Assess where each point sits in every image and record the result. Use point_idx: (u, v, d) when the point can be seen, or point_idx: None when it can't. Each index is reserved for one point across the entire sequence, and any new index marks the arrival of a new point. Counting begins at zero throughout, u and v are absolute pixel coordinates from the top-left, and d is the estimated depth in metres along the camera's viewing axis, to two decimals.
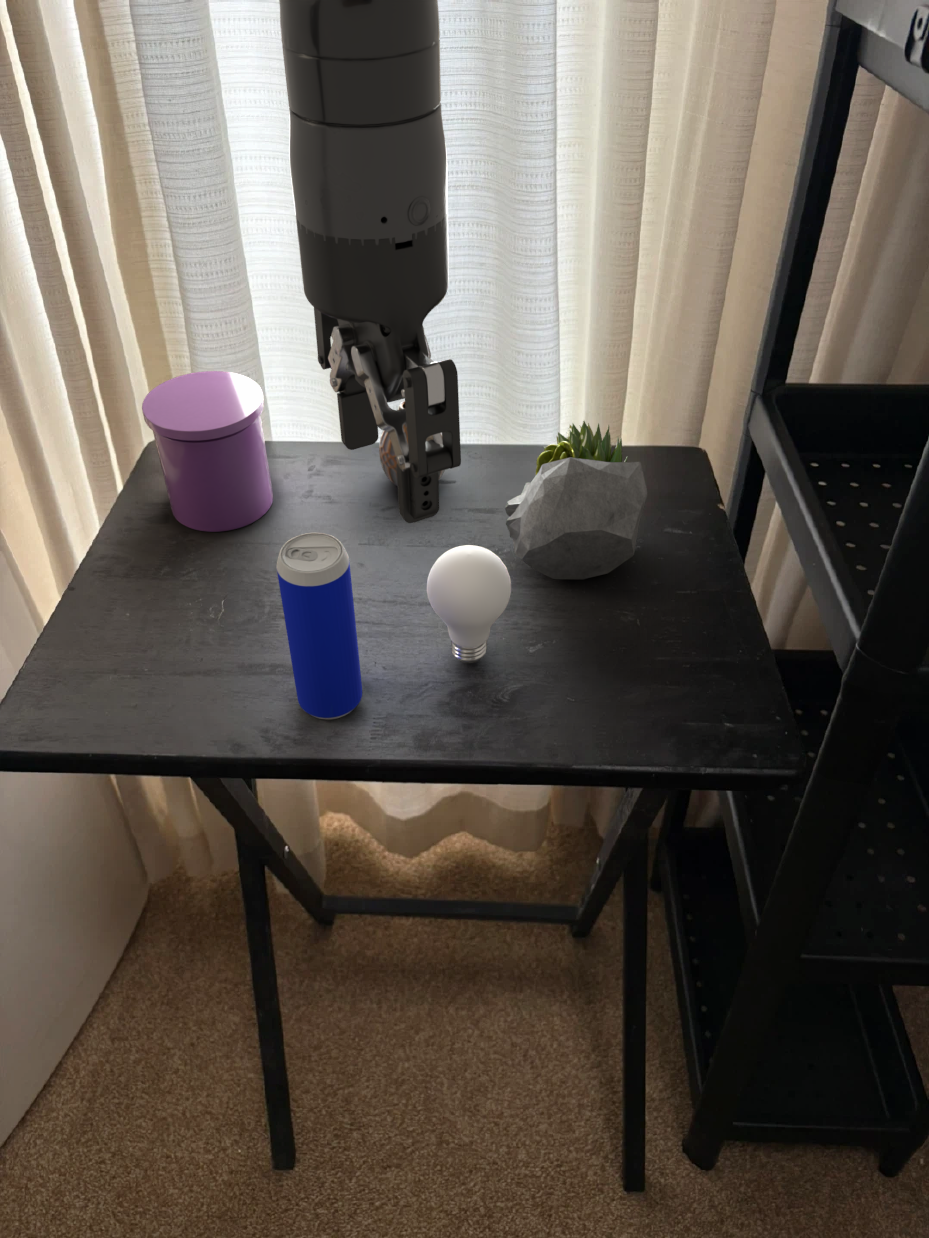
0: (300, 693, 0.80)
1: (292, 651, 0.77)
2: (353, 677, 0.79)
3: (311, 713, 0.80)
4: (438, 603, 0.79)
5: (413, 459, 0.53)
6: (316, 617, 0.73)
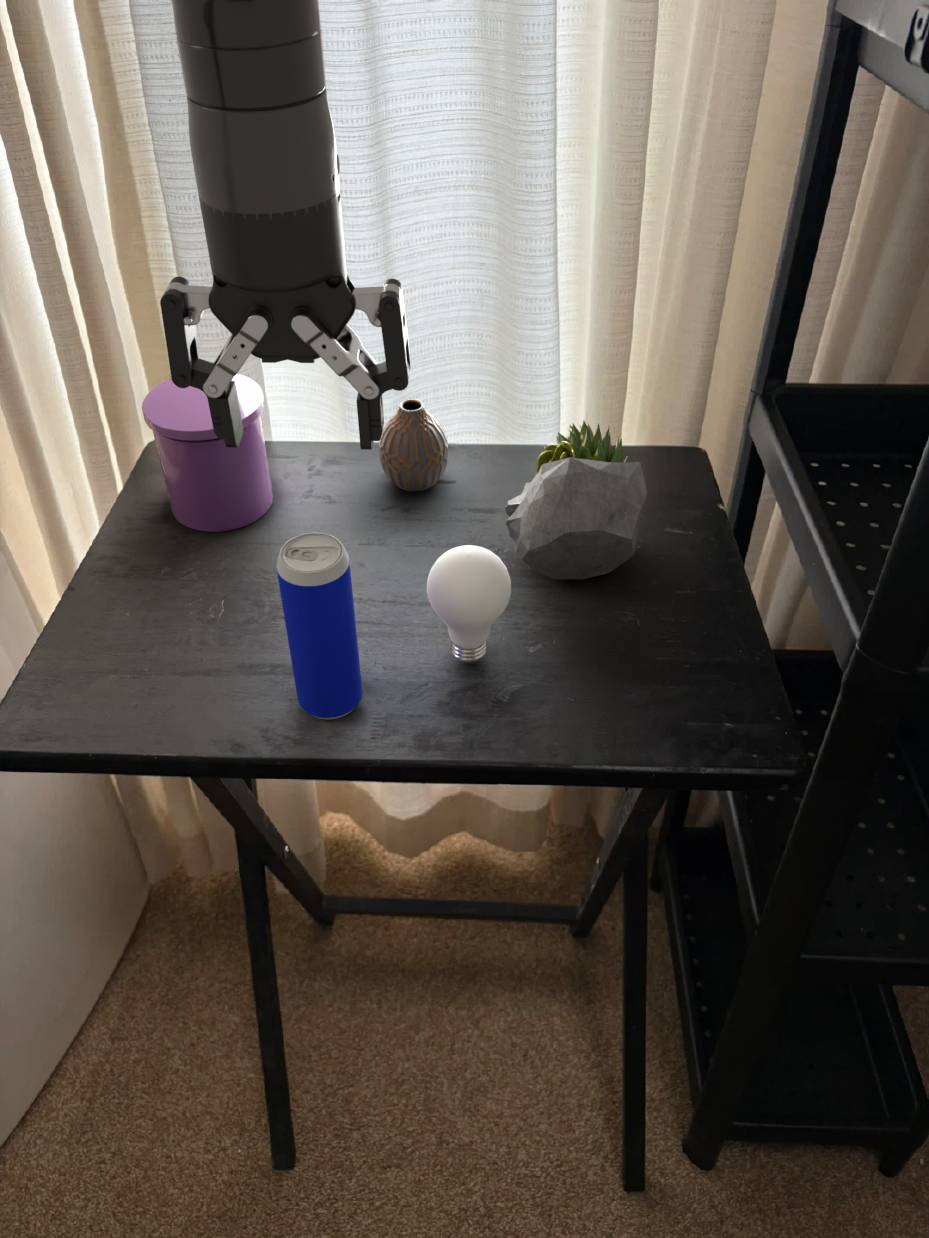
0: (300, 693, 0.80)
1: (292, 651, 0.77)
2: (353, 677, 0.79)
3: (311, 713, 0.80)
4: (438, 603, 0.79)
5: (396, 375, 0.61)
6: (316, 617, 0.73)
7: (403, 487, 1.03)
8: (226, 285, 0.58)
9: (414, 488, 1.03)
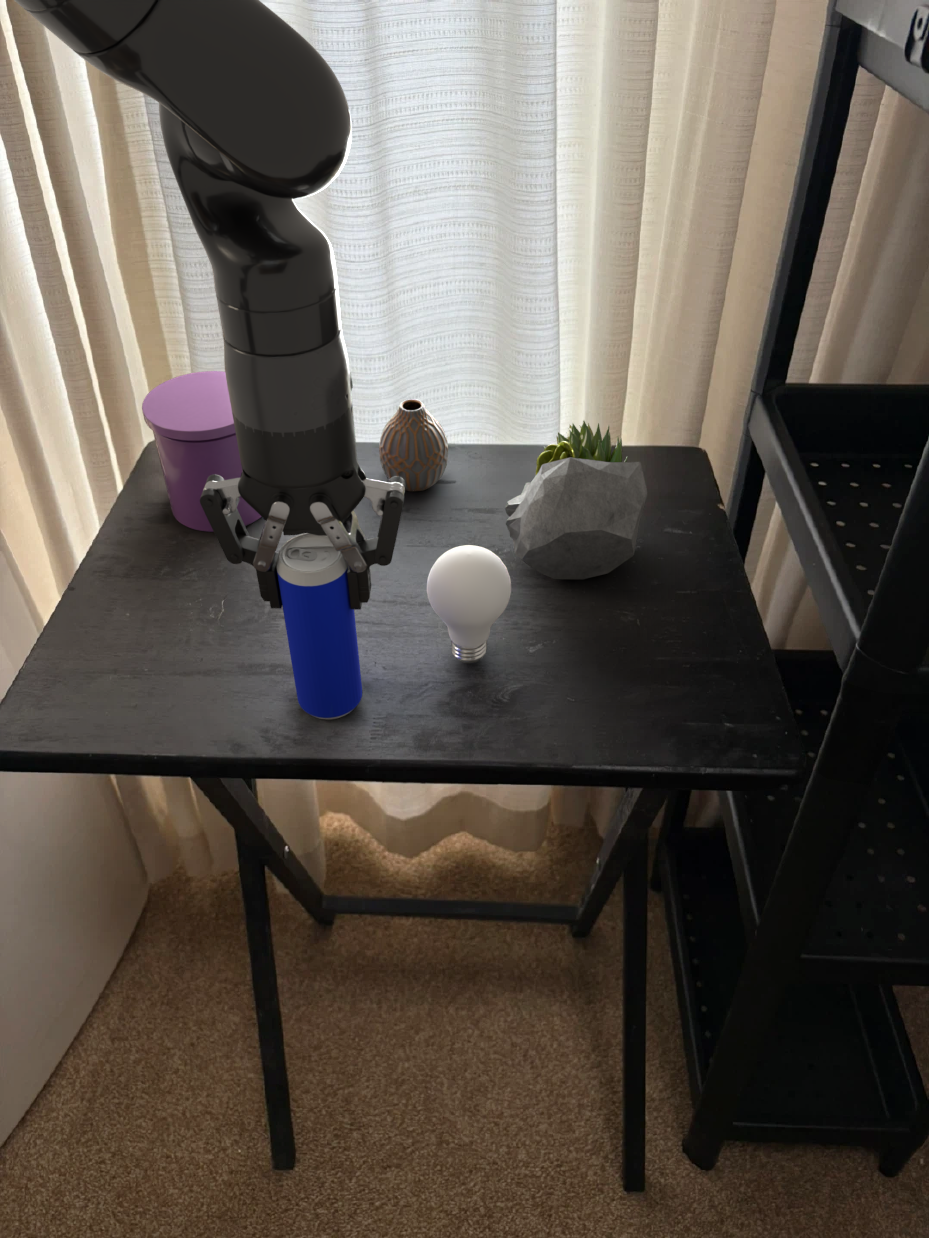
0: (300, 693, 0.80)
1: (292, 651, 0.77)
2: (353, 677, 0.79)
3: (311, 713, 0.80)
4: (438, 603, 0.79)
5: (383, 554, 0.71)
6: (316, 617, 0.73)
7: None
8: None
9: (414, 488, 1.03)
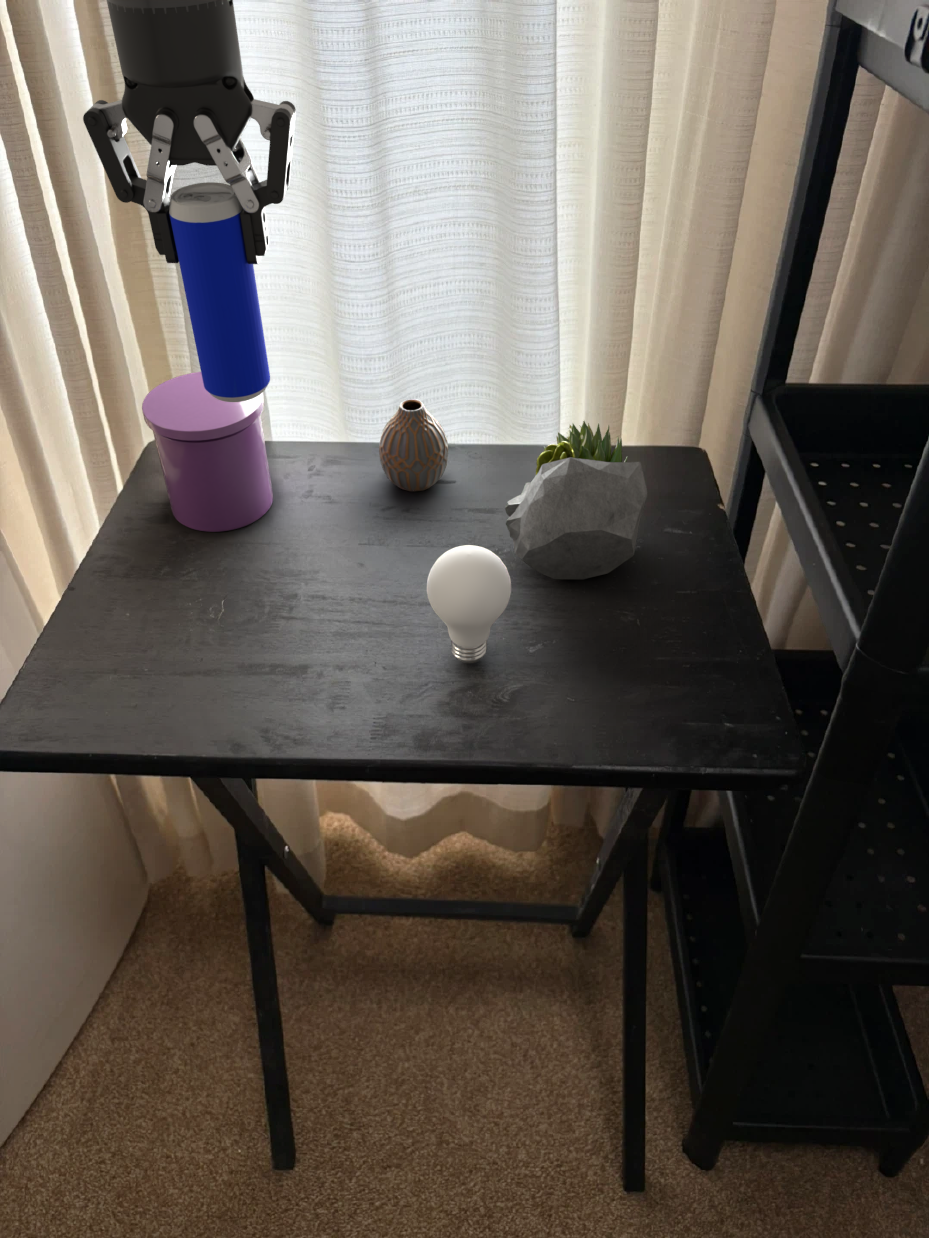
0: (203, 370, 0.78)
1: (191, 316, 0.76)
2: (256, 351, 0.78)
3: (215, 393, 0.79)
4: (438, 603, 0.79)
5: (274, 189, 0.69)
6: (209, 264, 0.72)
7: (403, 487, 1.03)
8: (136, 88, 0.66)
9: (414, 488, 1.03)
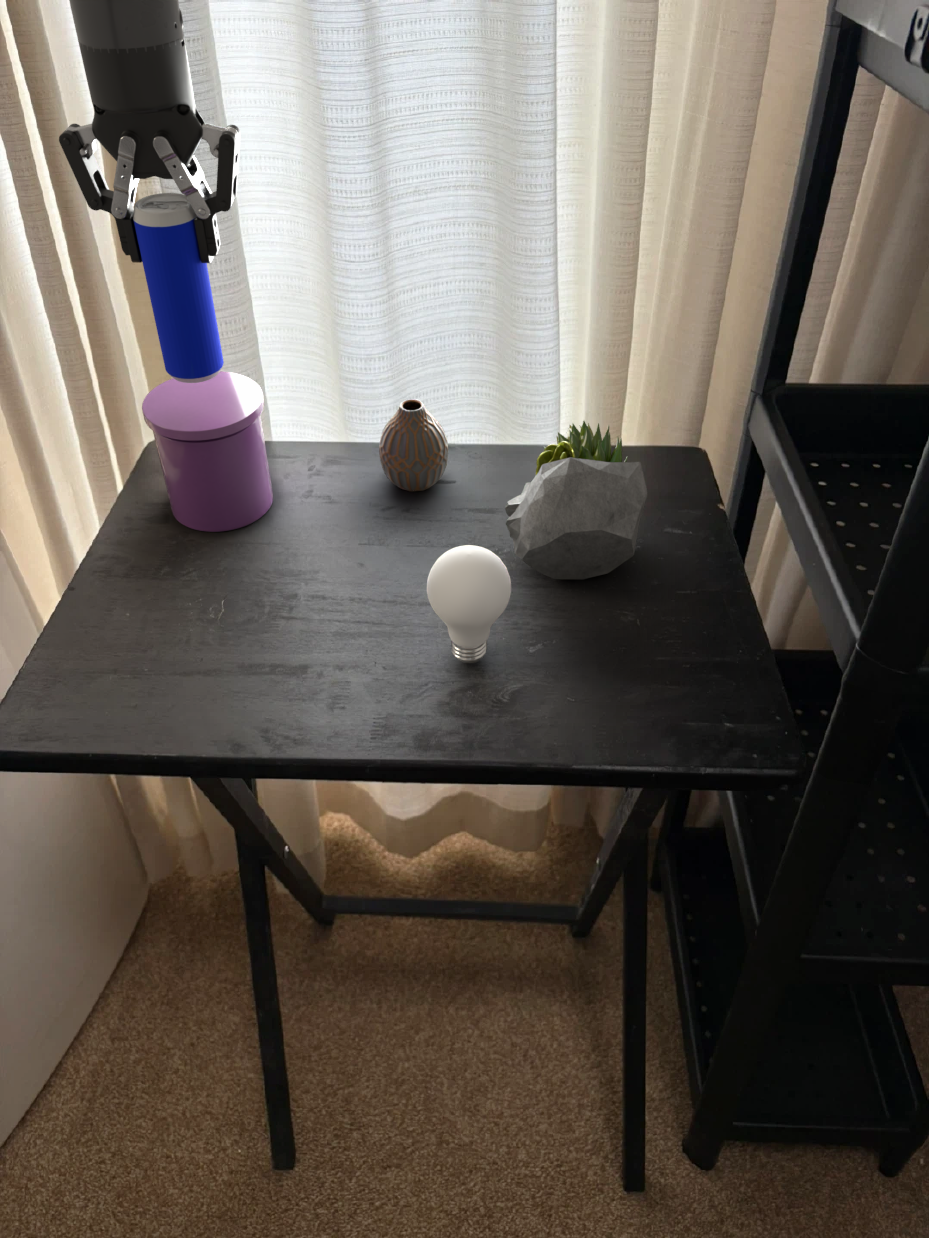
0: (165, 355, 0.90)
1: (153, 307, 0.88)
2: (210, 338, 0.90)
3: (175, 375, 0.91)
4: (438, 603, 0.79)
5: (222, 198, 0.82)
6: (168, 263, 0.84)
7: (403, 487, 1.03)
8: (103, 113, 0.78)
9: (414, 488, 1.03)
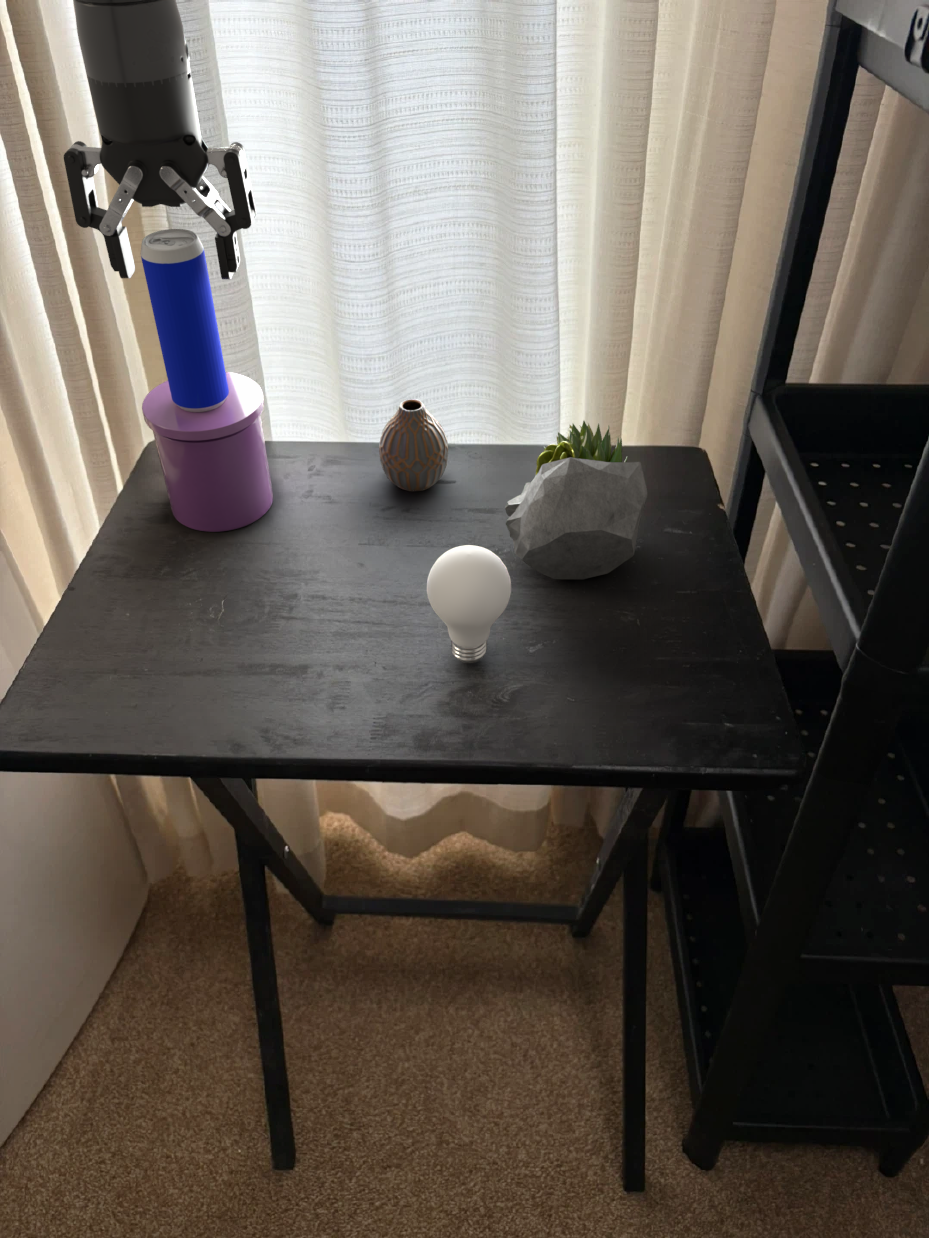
0: (171, 385, 0.92)
1: (160, 340, 0.90)
2: (215, 369, 0.92)
3: (181, 405, 0.93)
4: (438, 603, 0.79)
5: (242, 216, 0.83)
6: (175, 297, 0.86)
7: (403, 487, 1.03)
8: (111, 144, 0.79)
9: (414, 488, 1.03)
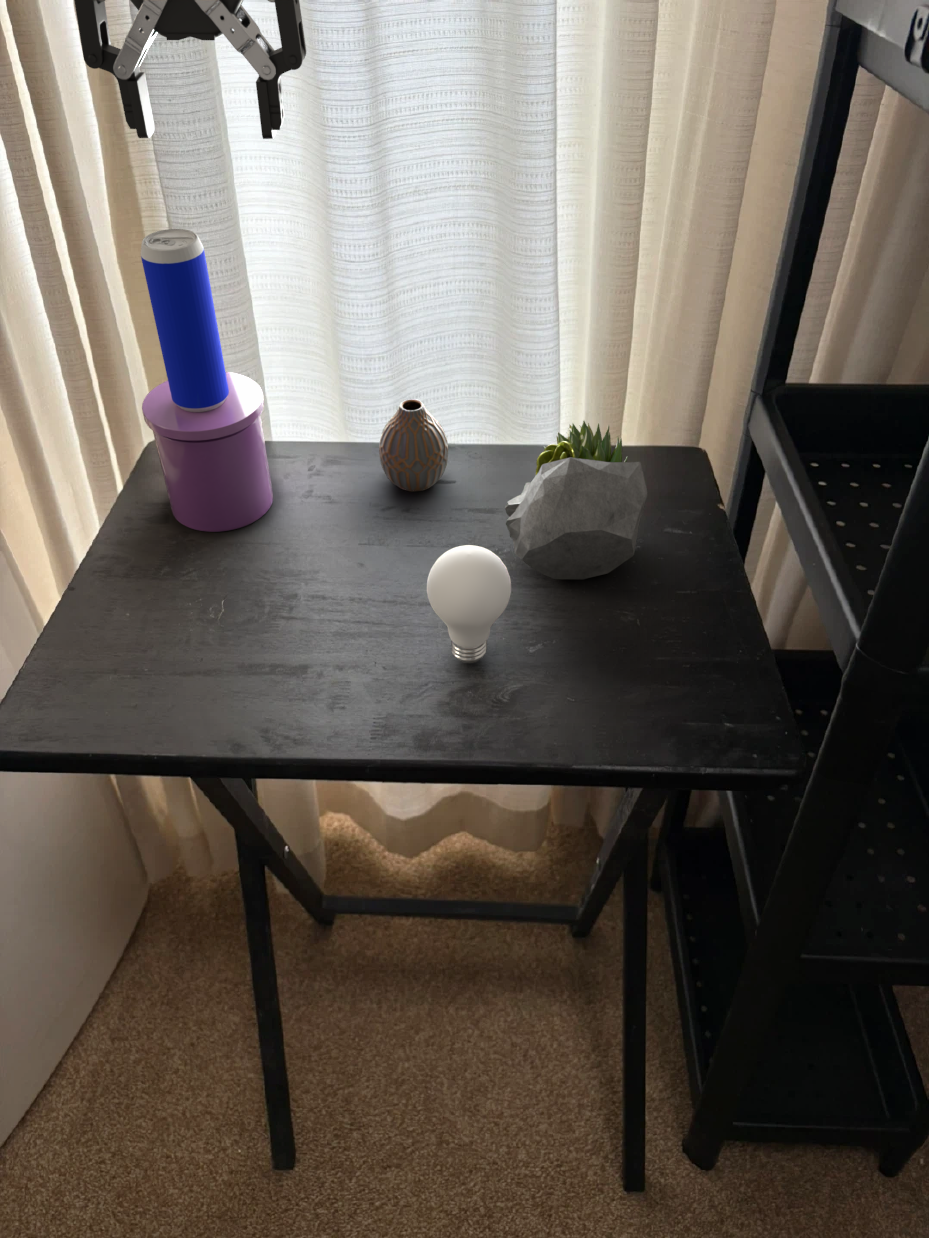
0: (171, 385, 0.92)
1: (160, 340, 0.90)
2: (215, 369, 0.92)
3: (181, 405, 0.93)
4: (438, 603, 0.79)
5: (291, 53, 0.67)
6: (175, 297, 0.86)
7: (403, 487, 1.03)
8: None
9: (414, 488, 1.03)
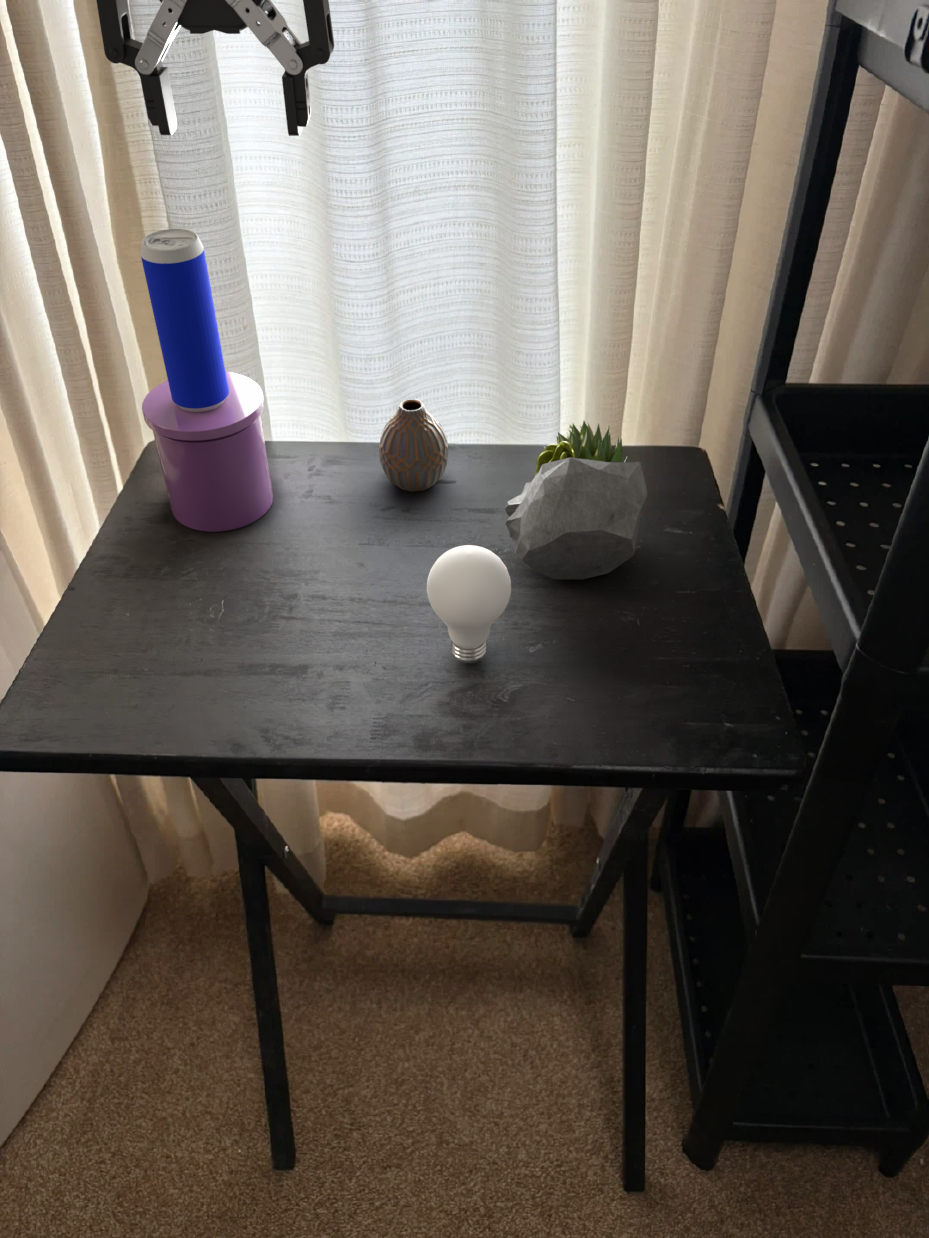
0: (171, 385, 0.92)
1: (160, 340, 0.90)
2: (215, 369, 0.92)
3: (181, 405, 0.93)
4: (438, 603, 0.79)
5: (318, 46, 0.65)
6: (175, 297, 0.86)
7: (403, 487, 1.03)
8: None
9: (414, 488, 1.03)
